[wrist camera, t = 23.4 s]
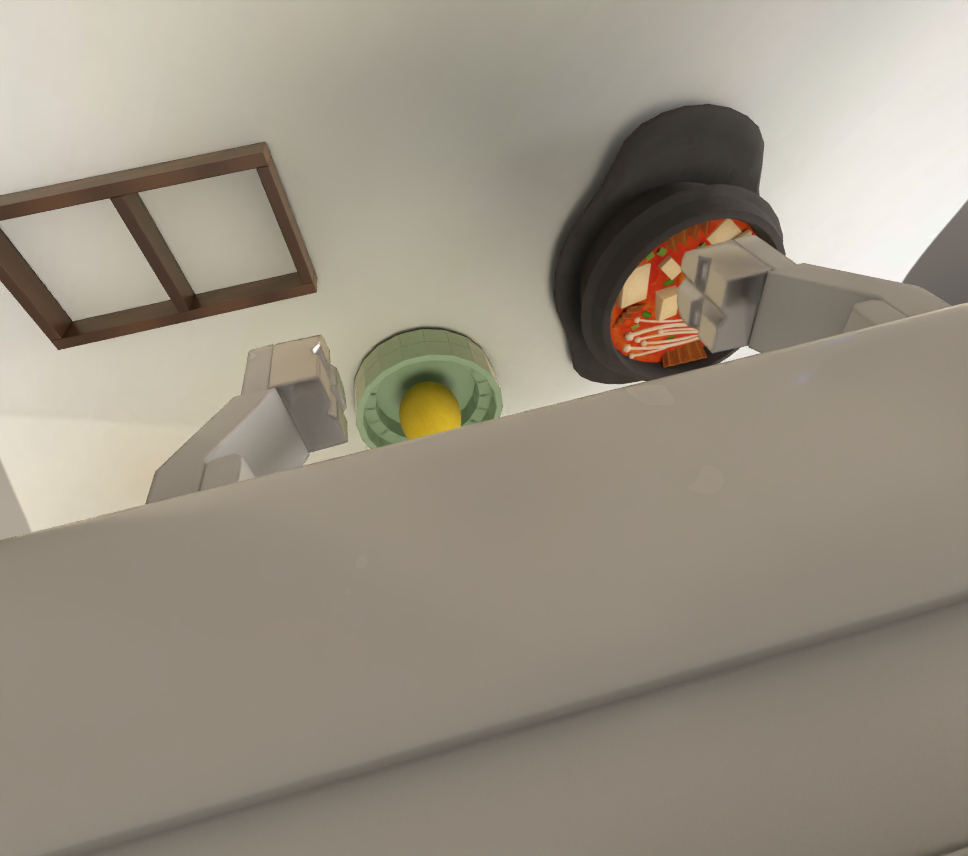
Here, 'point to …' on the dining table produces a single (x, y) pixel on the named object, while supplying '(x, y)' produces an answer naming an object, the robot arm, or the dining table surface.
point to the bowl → (417, 362)
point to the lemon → (428, 410)
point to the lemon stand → (151, 248)
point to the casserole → (658, 242)
